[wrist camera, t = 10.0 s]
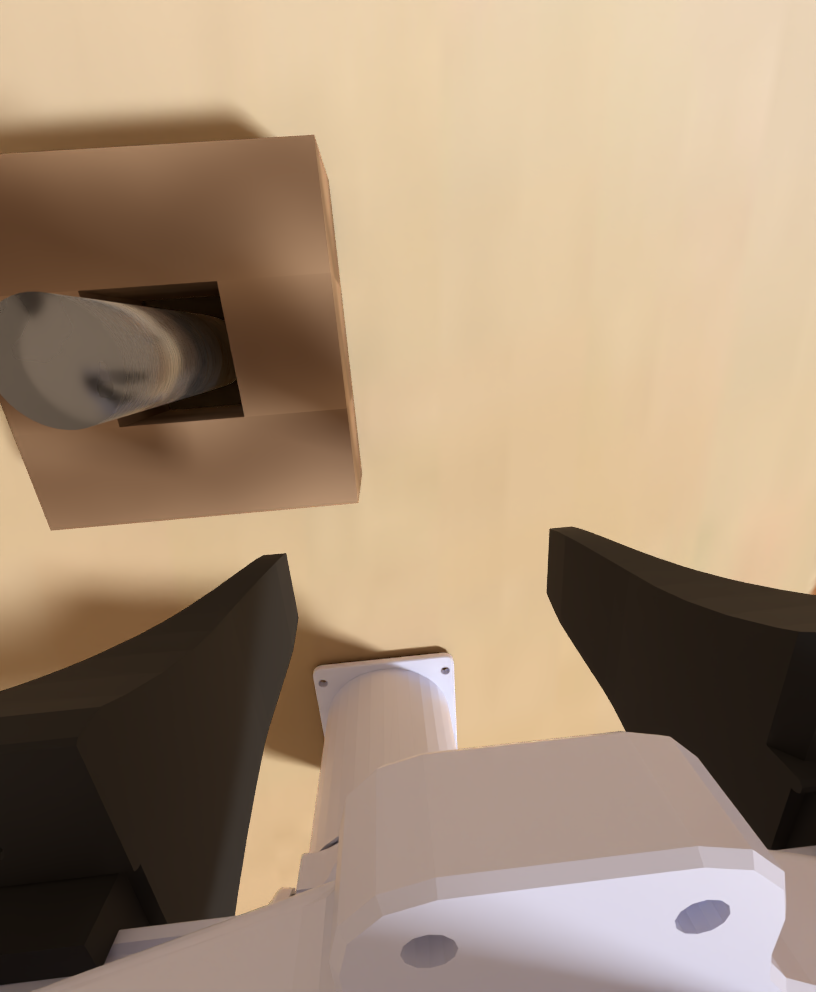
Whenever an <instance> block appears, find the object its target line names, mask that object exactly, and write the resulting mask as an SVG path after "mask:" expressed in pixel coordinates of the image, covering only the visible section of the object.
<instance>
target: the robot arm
mask: <svg viewBox="0 0 816 992" xmlns="http://www.w3.org/2000/svg"><path fill="white" fill-rule="evenodd" d="M547 595H548V597H549V600H550V602H551V604H552V606H553V609H554V611H555V613H556V615H557V617H558V619H559V621H560V623H561V625H562V627H563V628H564V630H565V631H566V633H567V635H568V636H569V638H570V639H571V641H572V642H573V644H574V646H575V647H576V649H577V650H578V652H579V653H580V655H581V656H582V658H583V659H584V661H585V663H586V664H587V666H588V667H589V669H590V670H591V672H592V673H593V675H594V676H595V678H596V679H597V681H598V683H599V684H600V686H601V687H602V689H603V690H604V692H605V694H606V695H607V697H608V699H609V700H610V702H611V704H612V705H613V707H614V709H615V711H616V713H617V715H618V717H619V719H620V721H621V723H622V725H623V727H624V729H625V731H626V732H623V731H618V732H609V733H600V734H591V735H582V736H573V737H564V738H555V739H546V740H537V741H528V742H518V743H509V744H500V745H491V746H482V747H473V748H464V749H457V729H456V706H455V683H454V662H453V658H452V656H451V655H450V654H449V653H436V654H426V655H416V656H406V657H397V658H387V659H377V660H367V661H357V662H348V663H338V664H328V665H320V666H317V667H316V668H315V669H314V673H313V680H314V685H315V690H316V696H317V701H318V706H319V712H320V717H321V722H322V728H323V733H324V738H325V740H324V747H323V754H322V762H321V769H320V776H319V784H318V791H317V798H316V806H315V813H314V820H313V828H312V835H311V842H310V849H309V853H304V854H303V855H302V856H301V862H300V869H299V875H298V882H297V889H296V891H295V888H280V889H279V890H278V891H277V892H276V893H275V895H274V897H273V900H271V901H270V903H269V904H268V905H266V906H263V907H261V908H258V909H255V910H252V911H250V912H247V913H244V914H241V915H238V916H235V911H236V904H237V896H238V890H239V884H240V877H241V871H242V865H243V859H244V853H245V846H246V840H247V834H248V828H249V823H250V817H251V812H252V806H253V801H254V795H255V790H256V785H257V780H258V775H259V770H260V765H261V760H262V755H263V750H264V745H265V741H266V737H267V734H268V730H269V726H270V723H271V720H272V717H273V713H274V710H275V707H276V704H277V701H278V698H279V694H280V691H281V688H282V685H283V682H284V679H285V675H286V672H287V669H288V666H289V662H290V659H291V656H292V652H293V648H294V642H295V637H296V630H297V623H298V613H297V608H296V602H295V597H294V592H293V587H292V581H291V576H290V571H289V566H288V560H287V555H286V553H284V554H273V555H263V556H261V557H259V558H258V559H256V560H255V561H253V562H252V563H250V564H249V565H247V566H246V567H245V568H243V569H242V570H240V571H239V572H238V573H236V574H235V575H234V576H232V577H231V578H229V579H228V580H227V581H225V582H224V583H222V584H221V585H220V586H218V587H217V588H216V589H214V590H213V591H211V592H210V593H208V594H207V595H205V596H204V597H202V598H201V599H199V600H198V601H196V602H195V603H193V604H192V605H190V606H188V607H187V608H185V609H184V610H182V611H181V612H179V613H178V614H176V615H174V616H173V617H171V618H169V619H167V620H166V621H164V622H162V623H160V624H159V625H157V626H155V627H153V628H151V629H149V630H147V631H146V632H144V633H142V634H140V635H138V636H136V637H134V638H132V639H130V640H128V641H125V642H123V643H121V644H119V645H117V646H115V647H113V648H110V649H108V650H106V651H104V652H102V653H100V654H98V655H95V656H93V657H91V658H89V659H86V660H84V661H81V662H79V663H76V664H74V665H72V666H69V667H67V668H64V669H62V670H59V671H56V672H54V673H51V674H48V675H46V676H43V677H40V678H38V679H35V680H32V681H29V682H27V683H24V684H21V685H18V686H15V687H12V688H9V689H6V690H3V691H0V992H816V595H810V594H803V593H797V592H791V591H785V590H779V589H774V588H769V587H764V586H759V585H754V584H749V583H744V582H740V581H735V580H731V579H727V578H723V577H719V576H715V575H712V574H708V573H704V572H701V571H697V570H693V569H690V568H687V567H683V566H680V565H677V564H674V563H671V562H668V561H665V560H662V559H659V558H656V557H653V556H651V555H648V554H645V553H643V552H640V551H637V550H635V549H632V548H629V547H627V546H624V545H622V544H619V543H617V542H614V541H612V540H609V539H607V538H604V537H601V536H599V535H596V534H594V533H591V532H588V531H585V530H582V529H579V528H575V527H563V528H552V529H550V532H549V553H548V575H547ZM444 667H448V668H447V669H445V670H443V669H442V668H444ZM321 680H325V681H326V682H321Z"/></svg>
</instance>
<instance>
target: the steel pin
mask: <svg viewBox="0 0 816 992" xmlns="http://www.w3.org/2000/svg"><path fill="white" fill-rule="evenodd" d="M236 379H237V377H236V372H235V367H234V362H233V358H232V353H231V348H230V343H229V338H228V333H227V328H226V323H225V321H223V320H221V319H219V318H217V317H214V316H210V315H203V314H196V313H188V312H181V311H174V310H167V309H160V308H153V307H146V306H138V305H131V304H124V303H117V302H110V301H103V300H96V299H89V298H81V297H74V296H67V295H60V294H53V293H45V292H23V293H18V294H15V295H12V296H9V297H7V298H5V299H4V300H2V301H1V302H0V394H1V395H2V397H3V398H4V399H5V400H6V401H7V402H8V403H9V404H10V405H11V406H13V407H14V408H15V409H16V410H17V411H19V412H20V413H22V414H23V415H24V416H26V417H28V418H30V419H31V420H33V421H35V422H38V423H40V424H42V425H45V426H48V427H52V428H56V429H63V430H79V429H85V428H88V427H92V426H95V425H98V424H101V423H105V422H108V421H111V420H115V419H118V418H121V417H125V416H128V415H131V414H135V413H138V412H141V411H144V410H148V409H151V408H154V407H158V406H161V405H164V404H168V403H171V402H174V401H178V400H181V399H184V398H187V397H191V396H194V395H197V394H201V393H204V392H207V391H211V390H214V389H217V388H221V387H224V386H227V385H229V384H231V383H232V382H234V381H235V380H236Z"/></svg>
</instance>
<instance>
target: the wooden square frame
mask: <svg viewBox="0 0 816 992" xmlns="http://www.w3.org/2000/svg"><path fill="white" fill-rule="evenodd" d="M23 292H45V293H53V294H60V295H67V296H74V297H81V298H89V299H96V300H103V301H110V302H117V303H124V304H131V305H138V306H142V302H141V301H148V300H162V299H176V298H190V297H204V296H217V295H220V299H221V304H222V308H223V313H224V318H225V323H226V328H227V333H228V338H229V343H230V348H231V353H232V358H233V362H234V367H235V372H236V377H237V382H238V387H239V392H240V397H241V402H242V404H240V405H228V406H215V407H203V408H191V409H178V410H170V409H169V405H168V404H164V405H161V406H158V407H154V408H151V409H148V410H144V411H141V412H138V413H135V414H131V415H128V416H125V417H121V418H118V419H115V420H111V421H108V422H105V423H101V424H98V425H95V426H92V427H88V428H85V429H79V430H63V429H56V428H52V427H48V426H45V425H42V424H40V423H38V422H35V421H33V420H31V419H30V418H28V417H26V416H24V415H23V414H22V413H20V412H19V411H17V410H16V409H15V408H14V407H13V406H11V405H10V404H9V403H8V402H7V401H6V400H5V399H4V398H3V397H2V395H1V394H0V403H1V406H2V408H3V411H4V413H5V416H6V418H7V421H8V423H9V426H10V428H11V431H12V433H13V436H14V438H15V441H16V444H17V446H18V449H19V451H20V454H21V456H22V459H23V461H24V464H25V466H26V469H27V471H28V474H29V476H30V479H31V481H32V484H33V486H34V489H35V492H36V494H37V497H38V499H39V502H40V504H41V507H42V509H43V512H44V514H45V517H46V519H47V522H48V524H49V527H50V529H51V530H62V529H73V528H84V527H95V526H107V525H118V524H129V523H140V522H151V521H162V520H173V519H185V518H196V517H207V516H218V515H229V514H240V513H251V512H263V511H274V510H285V509H296V508H307V507H318V506H329V505H341V504H352V503H358V501H359V493H360V485H361V477H362V469H361V461H360V452H359V443H358V434H357V425H356V417H355V408H354V399H353V390H352V382H351V373H350V364H349V355H348V347H347V338H346V329H345V320H344V312H343V303H342V294H341V285H340V277H339V268H338V259H337V250H336V241H335V233H334V224H333V215H332V206H331V198H330V189H329V180H328V177H327V174H326V171H325V168H324V165H323V162H322V158H321V155H320V152H319V149H318V146H317V143H316V140H315V137H314V135H305V136H288V137H271V138H255V139H238V140H221V141H205V142H188V143H172V144H155V145H138V146H122V147H105V148H88V149H72V150H55V151H39V152H22V153H5V154H0V302H1V301H2V300H4V299H5V298H7V297H9V296H12V295H15V294H18V293H23Z"/></svg>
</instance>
